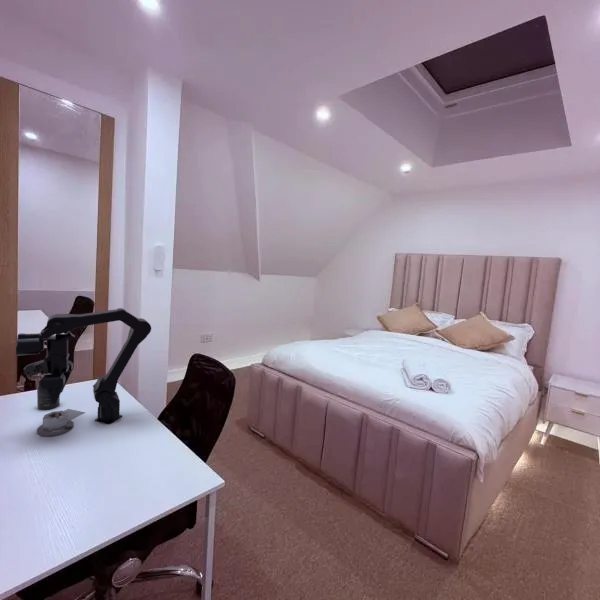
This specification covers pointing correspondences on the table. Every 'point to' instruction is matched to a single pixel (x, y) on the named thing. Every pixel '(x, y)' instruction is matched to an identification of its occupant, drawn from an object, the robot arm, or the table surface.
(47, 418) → the ring
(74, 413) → the stand pad
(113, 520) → the table surface
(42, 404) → the supplement bottle
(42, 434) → the hub
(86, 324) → the robot arm
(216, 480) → the table surface
